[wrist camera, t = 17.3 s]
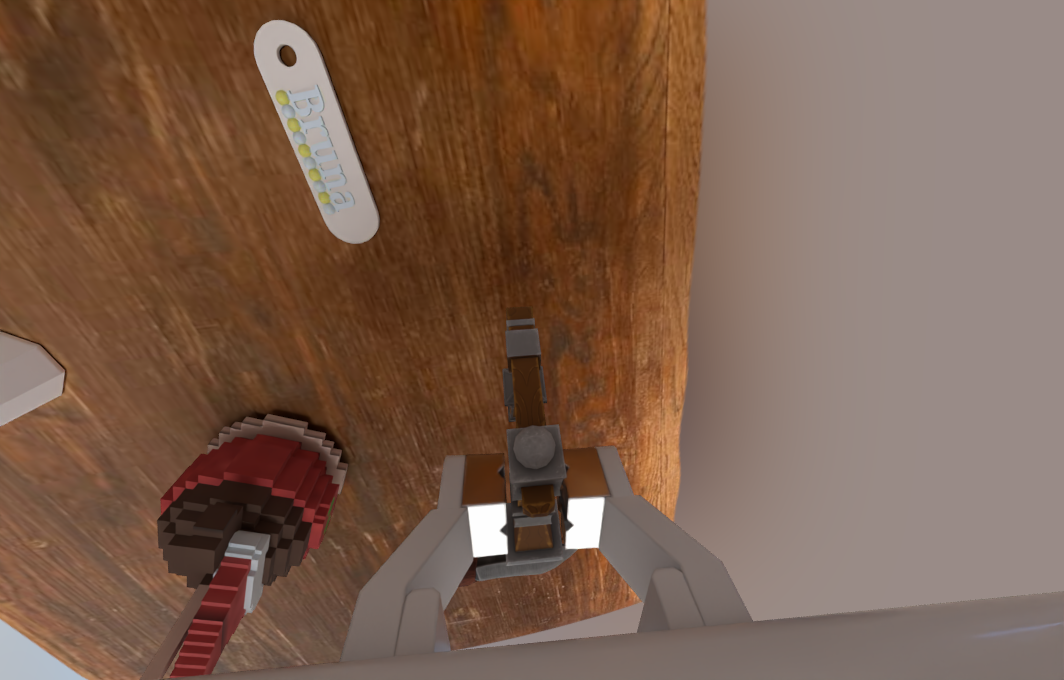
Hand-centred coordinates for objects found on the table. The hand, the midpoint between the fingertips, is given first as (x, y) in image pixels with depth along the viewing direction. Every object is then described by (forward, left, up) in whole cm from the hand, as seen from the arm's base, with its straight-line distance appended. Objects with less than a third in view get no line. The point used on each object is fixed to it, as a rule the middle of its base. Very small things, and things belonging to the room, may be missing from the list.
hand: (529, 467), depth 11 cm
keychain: (+10, -7, -17) cm, 21 cm away
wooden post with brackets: (0, 0, -2) cm, 2 cm away
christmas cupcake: (+18, +15, -17) cm, 29 cm away
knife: (+3, +29, -17) cm, 34 cm away
